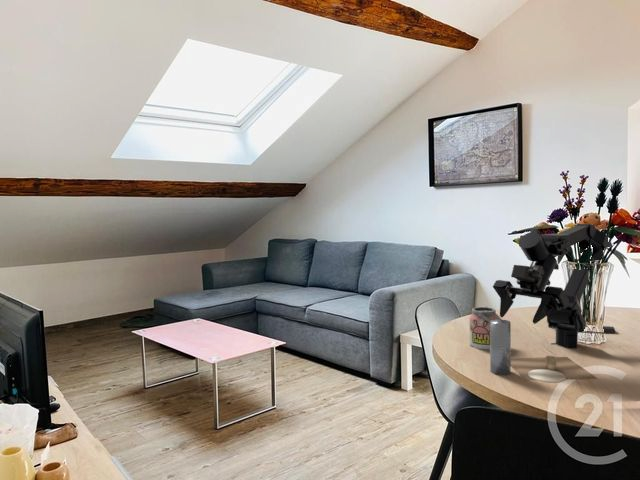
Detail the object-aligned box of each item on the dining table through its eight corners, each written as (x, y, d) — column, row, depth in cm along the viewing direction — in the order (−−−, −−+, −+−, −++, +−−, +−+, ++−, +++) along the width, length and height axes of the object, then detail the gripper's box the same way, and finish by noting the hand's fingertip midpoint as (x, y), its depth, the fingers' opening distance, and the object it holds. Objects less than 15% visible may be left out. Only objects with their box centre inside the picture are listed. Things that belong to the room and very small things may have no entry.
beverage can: (505, 347, 147) (505, 307, 146) (498, 355, 140) (498, 314, 139) (474, 343, 152) (474, 305, 151) (466, 351, 145) (465, 310, 144)
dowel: (544, 367, 126) (544, 355, 126) (553, 367, 126) (553, 355, 125) (548, 370, 123) (548, 358, 123) (557, 370, 123) (558, 358, 123)
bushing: (483, 372, 127) (483, 319, 126) (508, 371, 127) (508, 318, 126) (491, 381, 121) (491, 325, 120) (518, 380, 121) (517, 324, 119)
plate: (503, 362, 134) (503, 358, 134) (566, 361, 133) (566, 356, 133) (528, 387, 116) (528, 382, 116) (601, 386, 116) (601, 380, 115)
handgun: (546, 316, 174) (549, 324, 163) (608, 319, 167) (615, 328, 156) (546, 322, 174) (549, 331, 163) (607, 325, 168) (615, 335, 156)
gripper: (496, 251, 137) (472, 296, 131) (563, 255, 122) (539, 306, 116) (512, 275, 142) (490, 320, 136) (578, 283, 127) (556, 333, 121)
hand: (516, 319), depth 127 cm, fingers open, 9 cm apart
